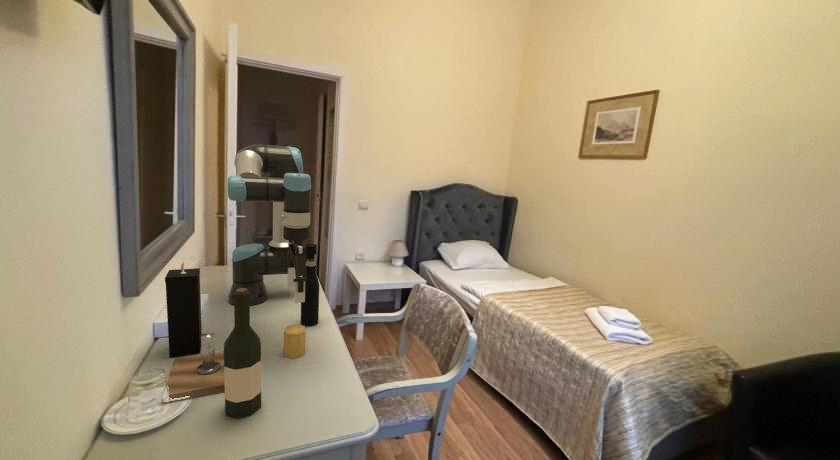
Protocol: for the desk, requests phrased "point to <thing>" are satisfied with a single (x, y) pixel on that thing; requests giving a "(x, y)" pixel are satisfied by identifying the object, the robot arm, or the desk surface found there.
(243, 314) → the labelled green bottle
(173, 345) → the black pillar candle
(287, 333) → the ochre cap
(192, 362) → the walnut board
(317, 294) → the wine bottle
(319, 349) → the desk surface
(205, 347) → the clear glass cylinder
